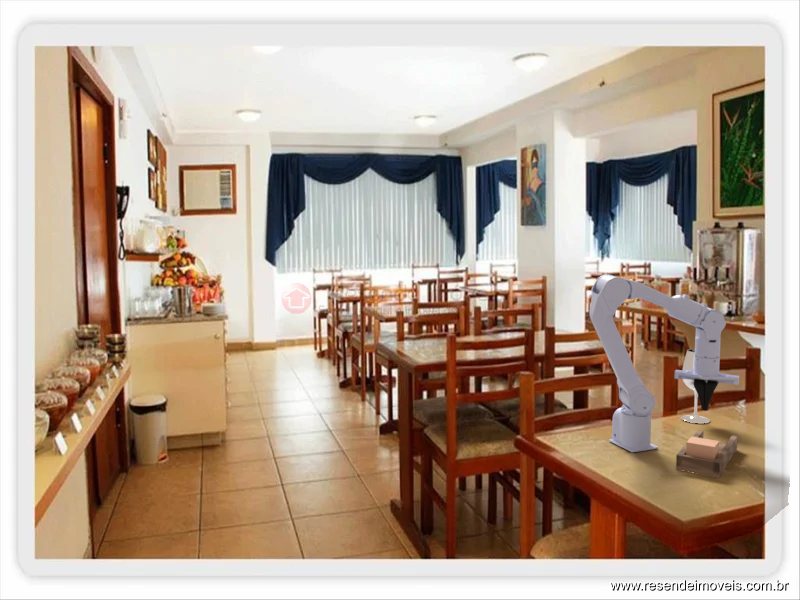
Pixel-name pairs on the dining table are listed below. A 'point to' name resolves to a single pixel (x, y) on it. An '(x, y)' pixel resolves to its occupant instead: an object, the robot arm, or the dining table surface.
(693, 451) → the block
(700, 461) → the shallow wooden tray
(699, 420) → the wineglass
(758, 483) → the dining table surface
